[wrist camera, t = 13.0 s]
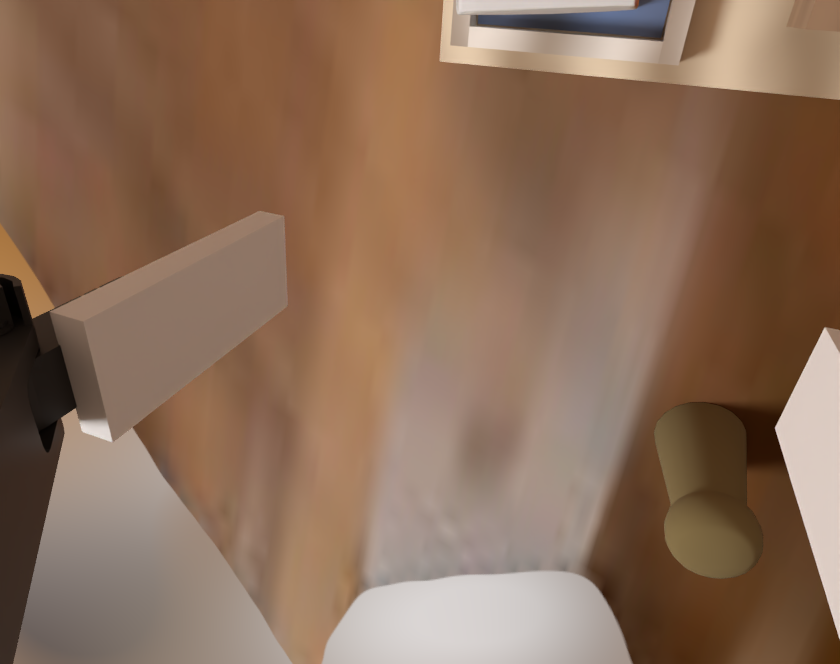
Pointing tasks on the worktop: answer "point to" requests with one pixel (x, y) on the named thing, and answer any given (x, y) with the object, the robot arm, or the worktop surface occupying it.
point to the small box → (540, 6)
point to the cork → (707, 490)
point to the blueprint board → (665, 43)
